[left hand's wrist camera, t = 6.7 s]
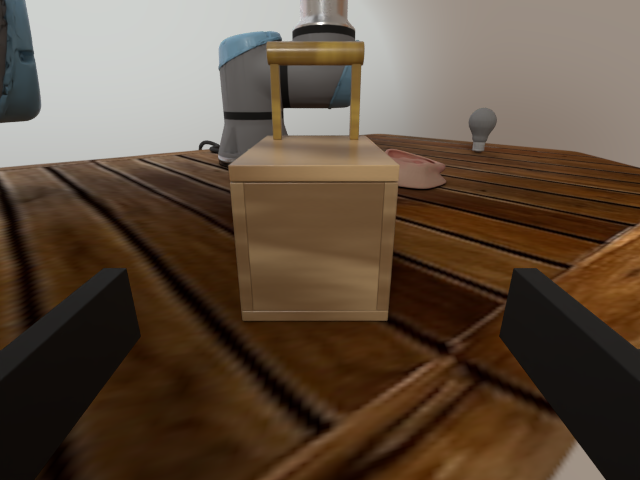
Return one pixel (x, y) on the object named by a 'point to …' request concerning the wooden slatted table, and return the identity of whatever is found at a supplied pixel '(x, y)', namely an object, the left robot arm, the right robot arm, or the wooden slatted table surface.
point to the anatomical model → (417, 170)
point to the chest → (314, 249)
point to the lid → (314, 151)
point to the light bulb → (481, 127)
